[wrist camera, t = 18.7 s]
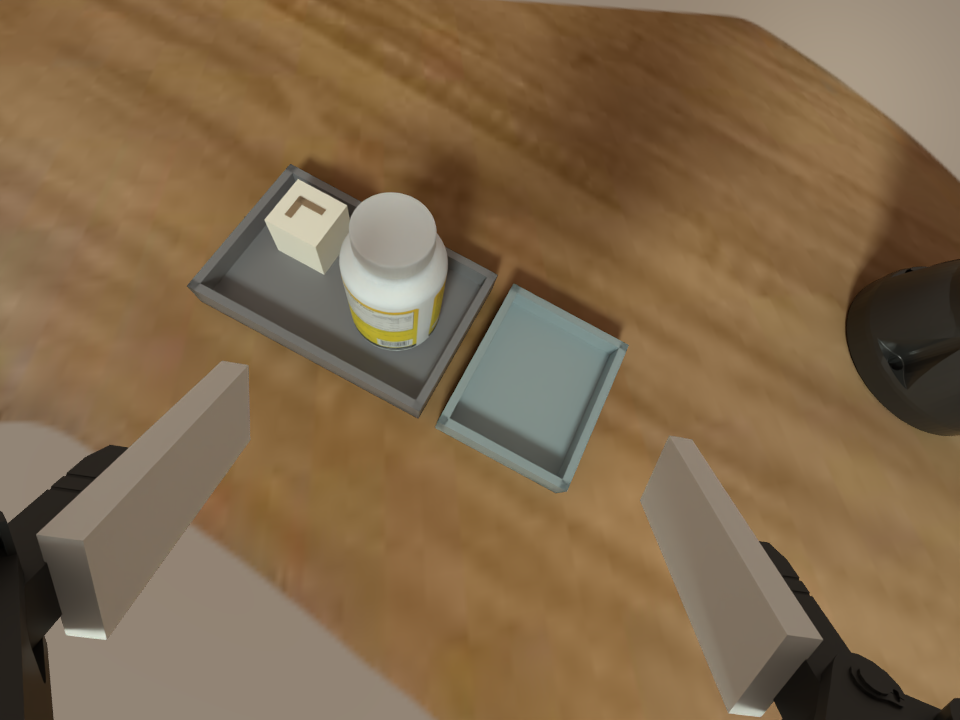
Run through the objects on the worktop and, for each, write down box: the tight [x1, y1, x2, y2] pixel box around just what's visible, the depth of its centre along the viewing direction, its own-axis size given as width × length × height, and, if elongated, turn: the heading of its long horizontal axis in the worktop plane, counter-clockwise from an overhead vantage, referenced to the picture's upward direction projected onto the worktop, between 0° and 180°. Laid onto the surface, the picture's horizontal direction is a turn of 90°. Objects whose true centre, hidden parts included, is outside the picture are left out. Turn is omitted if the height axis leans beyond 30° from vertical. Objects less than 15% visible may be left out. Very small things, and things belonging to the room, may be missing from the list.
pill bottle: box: [339, 192, 448, 351], centre depth 31 cm, size 6×6×12 cm
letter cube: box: [265, 179, 350, 275], centre depth 36 cm, size 4×4×4 cm
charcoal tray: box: [187, 164, 497, 418], centre depth 36 cm, size 12×18×2 cm
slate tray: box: [435, 284, 629, 493], centre depth 36 cm, size 12×10×2 cm
